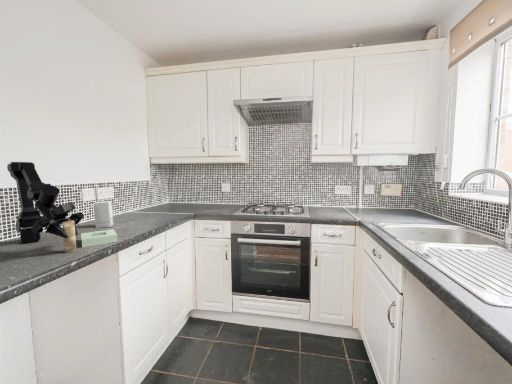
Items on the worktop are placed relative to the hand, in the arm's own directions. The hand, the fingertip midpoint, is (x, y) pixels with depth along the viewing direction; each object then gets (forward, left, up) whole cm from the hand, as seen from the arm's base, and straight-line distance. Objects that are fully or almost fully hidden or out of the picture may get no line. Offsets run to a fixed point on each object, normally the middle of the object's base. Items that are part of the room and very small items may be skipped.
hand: (72, 236), depth 100 cm
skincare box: (+15, +46, -7) cm, 49 cm away
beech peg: (-1, +1, -7) cm, 7 cm away
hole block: (+10, +11, -7) cm, 16 cm away
